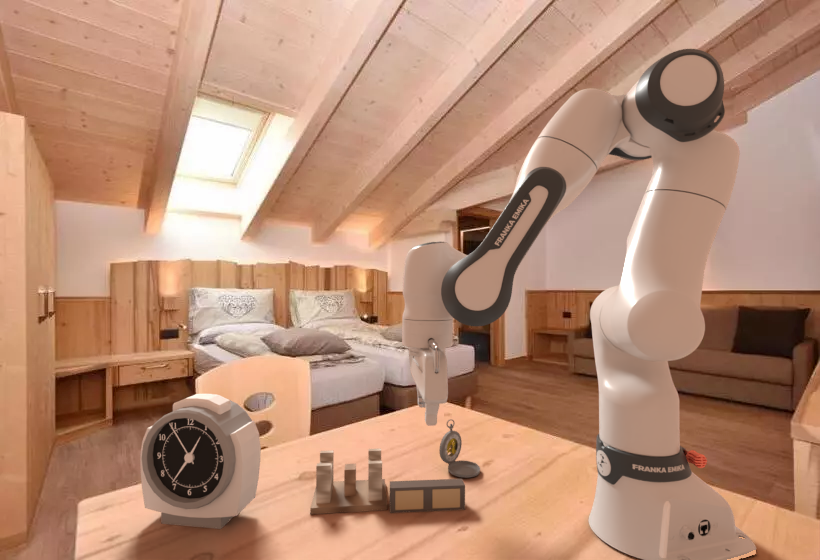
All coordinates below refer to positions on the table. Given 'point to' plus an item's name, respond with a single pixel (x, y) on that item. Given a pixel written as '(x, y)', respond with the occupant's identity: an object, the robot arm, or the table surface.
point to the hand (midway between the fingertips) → (426, 414)
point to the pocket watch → (456, 455)
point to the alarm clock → (200, 462)
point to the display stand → (349, 487)
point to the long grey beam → (427, 495)
